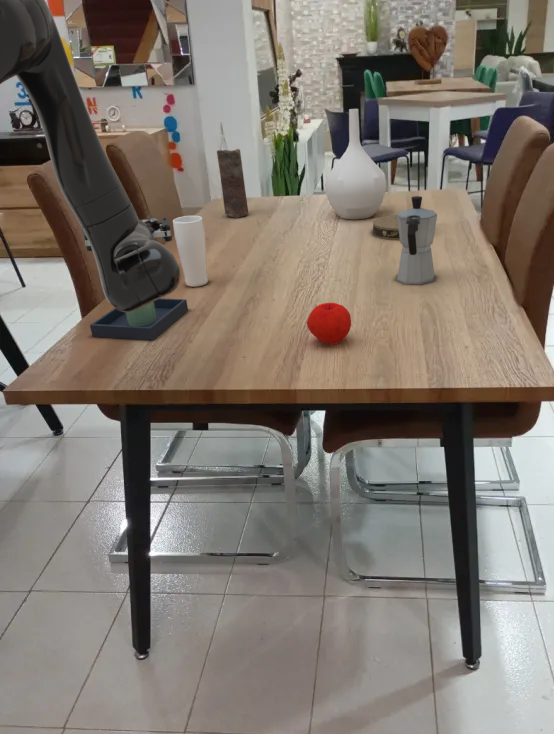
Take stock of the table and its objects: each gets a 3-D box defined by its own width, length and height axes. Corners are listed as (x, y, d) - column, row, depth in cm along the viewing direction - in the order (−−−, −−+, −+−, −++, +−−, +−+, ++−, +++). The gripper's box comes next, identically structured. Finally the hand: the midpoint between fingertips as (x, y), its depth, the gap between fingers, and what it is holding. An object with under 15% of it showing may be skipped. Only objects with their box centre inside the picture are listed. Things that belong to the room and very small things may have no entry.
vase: (381, 207, 219) (380, 104, 205) (391, 220, 204) (390, 110, 189) (324, 211, 219) (319, 108, 204) (329, 225, 203) (324, 114, 188)
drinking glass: (180, 289, 159) (170, 223, 151) (184, 280, 165) (174, 216, 157) (210, 287, 159) (200, 221, 151) (212, 278, 165) (204, 214, 157)
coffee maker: (400, 269, 163) (401, 190, 154) (438, 270, 160) (440, 190, 152) (390, 290, 150) (389, 205, 141) (430, 291, 148) (432, 205, 139)
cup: (148, 327, 138) (139, 278, 133) (121, 325, 139) (111, 277, 134) (162, 316, 143) (153, 269, 138) (136, 314, 144) (127, 268, 139)
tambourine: (441, 234, 188) (441, 223, 186) (388, 242, 183) (388, 231, 182) (413, 222, 201) (413, 211, 199) (363, 230, 196) (363, 219, 195)
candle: (220, 216, 220) (211, 150, 210) (236, 211, 225) (229, 146, 215) (236, 219, 216) (229, 151, 206) (253, 214, 221) (246, 147, 211)
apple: (302, 348, 125) (299, 310, 122) (317, 332, 132) (315, 295, 128) (344, 352, 123) (342, 313, 119) (357, 335, 129) (356, 298, 126)
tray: (152, 340, 133) (150, 328, 132) (92, 336, 136) (89, 324, 135) (188, 310, 146) (186, 299, 145) (132, 307, 150) (130, 296, 148)
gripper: (174, 217, 107) (162, 197, 120) (78, 228, 103) (77, 206, 117) (181, 265, 110) (169, 240, 124) (89, 277, 107) (87, 250, 120)
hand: (124, 224), depth 120 cm, fingers open, 8 cm apart
